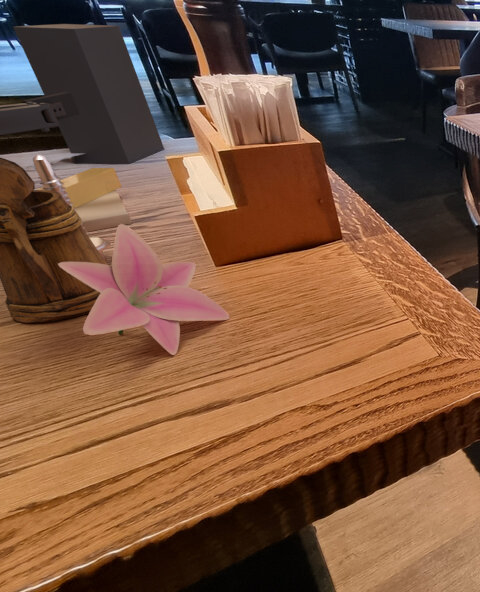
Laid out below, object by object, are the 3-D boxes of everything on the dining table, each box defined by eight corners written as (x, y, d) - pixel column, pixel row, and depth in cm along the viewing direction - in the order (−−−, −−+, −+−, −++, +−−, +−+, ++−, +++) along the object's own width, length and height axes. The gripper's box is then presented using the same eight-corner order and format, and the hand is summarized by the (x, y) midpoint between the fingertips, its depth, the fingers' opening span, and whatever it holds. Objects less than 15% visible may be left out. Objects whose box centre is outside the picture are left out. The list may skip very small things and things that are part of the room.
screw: (100, 251, 65) (126, 258, 64) (53, 266, 61) (79, 275, 60) (50, 146, 59) (77, 152, 57) (-6, 156, 55) (22, 162, 53)
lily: (84, 401, 43) (106, 313, 40) (14, 314, 46) (30, 224, 43) (233, 364, 54) (260, 292, 51) (169, 295, 57) (191, 223, 54)
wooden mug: (-12, 358, 46) (-147, 155, 37) (21, 293, 56) (-80, 120, 47) (118, 329, 51) (25, 142, 42) (128, 274, 60) (54, 113, 51)
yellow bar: (20, 233, 65) (8, 211, 64) (-7, 234, 65) (-20, 211, 63) (122, 186, 82) (114, 167, 80) (100, 186, 81) (92, 167, 80)
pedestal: (129, 164, 97) (74, 28, 86) (75, 163, 96) (12, 26, 85) (164, 149, 106) (118, 25, 95) (115, 149, 105) (63, 23, 94)
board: (48, 204, 78) (44, 195, 77) (117, 194, 83) (113, 185, 82) (54, 237, 68) (49, 227, 67) (132, 223, 73) (128, 213, 72)
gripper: (-314, 181, 48) (-84, 130, 66) (-7, 182, 51) (132, 133, 70) (-387, 95, 44) (-122, 67, 63) (-51, 102, 48) (108, 73, 66)
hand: (12, 102), depth 66 cm, fingers open, 13 cm apart
